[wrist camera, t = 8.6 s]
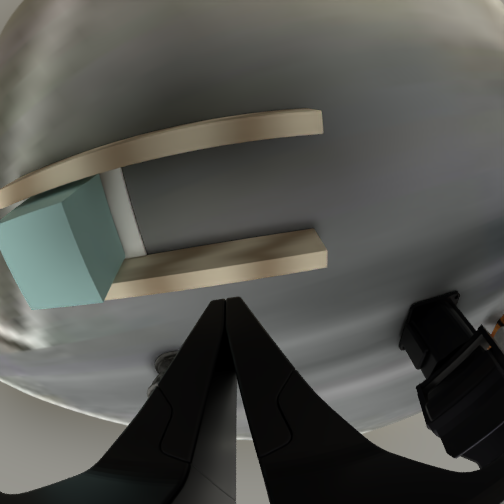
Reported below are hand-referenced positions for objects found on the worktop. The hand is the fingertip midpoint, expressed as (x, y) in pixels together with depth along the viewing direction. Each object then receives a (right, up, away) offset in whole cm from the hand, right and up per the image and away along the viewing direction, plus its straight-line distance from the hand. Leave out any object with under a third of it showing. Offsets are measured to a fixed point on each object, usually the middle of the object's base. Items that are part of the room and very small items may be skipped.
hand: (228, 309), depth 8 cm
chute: (-6, +5, +9) cm, 12 cm away
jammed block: (-11, +3, +9) cm, 15 cm away
